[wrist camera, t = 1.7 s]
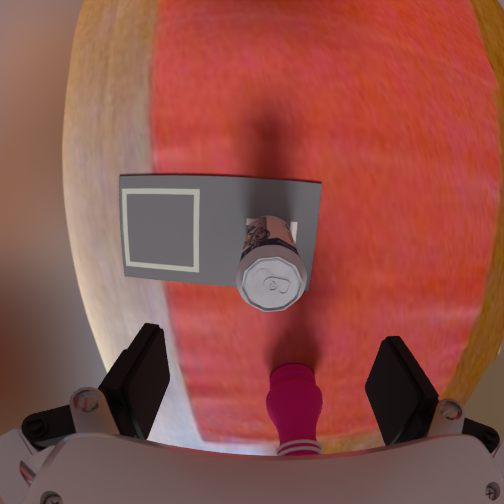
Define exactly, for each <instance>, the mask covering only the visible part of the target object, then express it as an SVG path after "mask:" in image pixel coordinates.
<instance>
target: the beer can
mask: <svg viewBox="0 0 504 504" xmlns="http://www.w3.org/2000/svg"><path fill="white" fill-rule="evenodd" d="M306 282H307V272H306V268H305V266H304V263H303V261H302V260H301V258H300V255H299V253H298V250H297V247H296V245H295V242H294V239H293V237H292V233H291V230H290V228H289V226H288V224H287V223H286V222H285V221H284V220H282V219H281V218H279V217H276V216H272V215H267V216H262V217H259V218H257V219H255V220H254V221H253V222H252V223H251V224H250V225H249V227H248V229H247V232H246V239H245V243H244V247H243V251H242V255H241V259H240V263H239V265H238V268H237V271H236V285H237V289H238V291H239V293H240V294H241V296H242V298H243V299H244V300H245V301H246V302H247V303H249V304H250V305H252V306H254V307H255V308H258V309H260V310H262V311H264V312H272V311H283V310H285V309H286V308H287V307H289V306H290V305H292V304H293V303H294V302H295V301H297V300H298V299H299V298H300V296H301V295H302V294H303V292H304V289H305V287H306Z"/></svg>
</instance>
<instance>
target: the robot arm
mask: <svg viewBox="0 0 504 504" xmlns="http://www.w3.org/2000/svg"><path fill="white" fill-rule="evenodd" d="M169 381H170V372H169V366H168V359H167V353H166V345H165V338H164V331H163V329H161V328H160V327H159V325H157V324H150V323H145V324H144V325H143V327H142V328H141V330H140V331H139V333H138V334H137V335H136V337H135V338H134V340H133V341H132V343H131V344H130V346H129V347H128V349H125V350H123V351H122V353H121V354H120V356H119V357H118V359H117V360H116V362H115V363H114V365H113V366H112V368H111V369H110V371H109V372H108V374H107V375H106V377H105V378H104V380H103V381H102V383H101V384H100V386H99V387H98V389H96V388H93V387H83V388H80V389H78V390H76V391H75V392H74V393H73V394H72V395H71V397H70V400H69V405H66V406H62V407H58V408H55V409H51V410H47V411H43V412H38V413H34V414H31V415H29V416H28V417H26V418H25V419H24V421H23V423H22V426H21V427H22V428H21V429H20V430H17V428H15V429H13V430H11V431H10V432H8V433H6V434H4V435H2V436H0V496H1V498H2V500H3V501H4V503H5V504H504V442H502V443H501V444H500V443H499V442H500V438H499V435H498V433H497V432H496V431H495V430H494V429H493V428H491V427H489V426H485V425H483V424H480V423H478V422H475V421H473V420H470V419H467V418H465V410H464V407H463V406H462V405H461V404H460V403H459V402H458V401H456V400H454V399H450V398H448V399H443V400H441V401H440V402H439V400H438V396H439V395H438V393H437V392H436V390H435V389H434V387H433V385H432V384H431V382H430V381H429V379H428V378H427V376H426V374H425V373H424V371H423V370H422V368H421V367H420V365H419V364H418V362H417V361H416V359H415V358H414V356H413V355H412V353H411V352H410V350H409V349H408V347H407V346H406V345H405V343H404V342H403V340H402V339H401V337H400V336H388V337H386V338H385V340H383V341H382V342H381V345H380V348H379V351H378V354H377V356H376V359H375V362H374V364H373V367H372V369H371V372H370V374H369V377H368V379H367V382H366V384H365V391H366V393H367V396H368V399H369V401H370V404H371V407H372V409H373V412H374V415H375V417H376V420H377V423H378V426H379V428H380V431H381V434H382V437H383V440H384V442H385V445H386V446H383V447H377V448H371V449H365V450H358V451H351V452H342V453H332V454H320V455H302V456H260V455H241V454H229V453H219V452H210V451H203V450H196V449H190V448H184V447H178V446H172V445H167V444H162V443H157V442H152V441H148V440H146V439H147V438H148V436H149V433H150V430H151V428H152V425H153V423H154V420H155V417H156V415H157V412H158V410H159V407H160V404H161V402H162V399H163V397H164V394H165V392H166V389H167V387H168V384H169ZM143 439H144V440H143Z"/></svg>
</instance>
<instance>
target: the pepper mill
mask: <svg viewBox="0 0 504 504" xmlns="http://www.w3.org/2000/svg"><path fill="white" fill-rule="evenodd" d="M322 403H323V401H322V393H321V391H320V388H319V387H318V386H317V385H316V382H315V377H314V373H313V371H312V370H311V369H310V368H309V367H307V366H305V365H302V364H287V365H283V366H281V367H279V368H277V369H276V370H275V371H274V372H273V373H272V374H271V377H270V391H269V393H268V395H267V398H266V406H267V411H268V414H269V416H270V418H271V420H272V421H273V423H274V425H275V426H276V428H277V431H278V433H279V439H280V446H279V447H278V448H277V450H276V455H277V456H302V455H320V454H323V452H322V451H321V450H322V446H321V444H320V443H318V442H317V440H316V425H317V421H318V418H319V415H320V413H321V409H322Z"/></svg>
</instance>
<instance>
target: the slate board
mask: <svg viewBox="0 0 504 504" xmlns="http://www.w3.org/2000/svg"><path fill="white" fill-rule="evenodd" d="M321 187H322V184H319V183H310V182H300V181H289V180H276V179H262V178H246V177H225V176H188V175H154V176H119V208H120V229H121V243H122V255H123V265H124V274H125V276H128V277H137V278H146V279H155V280H165V281H175V282H185V283H196V284H207V285H219V286H231V287H237V285H236V271H237V268H238V265H239V263H240V259H241V255H242V251H243V247H244V243H245V239H246V232H247V229H248V227H249V225H250V224H251V223H252V222H253V221H254V220H255V219H257V218H259V217H262V216H267V215H272V216H276V217H279V218H281V219H282V220H284V221H285V222H286V223H287V224H288V226H289V228H290V230H291V233H292V237H293V239H294V242H295V245H296V247H297V250H298V253H299V255H300V258H301V260H302V261H303V263H304V266H305V268H306V272H307V282H306V287H305V289H304V291H309V285H310V278H311V271H312V264H313V257H314V250H315V242H316V234H317V225H318V216H319V207H320V197H321Z"/></svg>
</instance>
